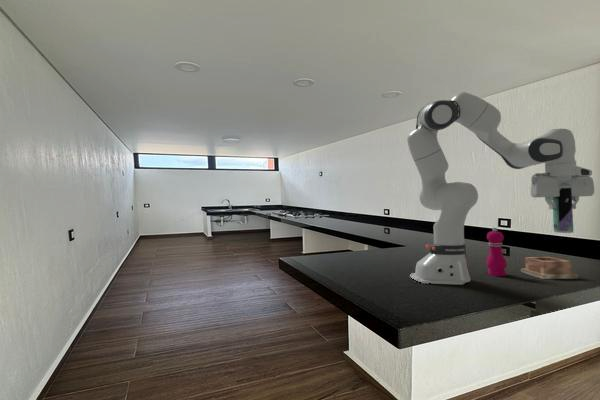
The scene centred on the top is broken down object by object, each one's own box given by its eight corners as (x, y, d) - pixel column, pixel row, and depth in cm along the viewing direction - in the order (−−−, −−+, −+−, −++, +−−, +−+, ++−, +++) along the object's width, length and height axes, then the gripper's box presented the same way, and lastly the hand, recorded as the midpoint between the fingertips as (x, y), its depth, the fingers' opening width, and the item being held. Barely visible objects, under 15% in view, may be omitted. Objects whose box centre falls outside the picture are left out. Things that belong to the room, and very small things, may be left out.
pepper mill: (501, 272, 128) (498, 226, 128) (511, 276, 121) (508, 227, 121) (483, 272, 128) (481, 227, 129) (492, 276, 121) (490, 228, 122)
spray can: (569, 233, 106) (566, 178, 107) (550, 232, 111) (548, 179, 112) (576, 232, 109) (573, 178, 109) (558, 231, 114) (555, 179, 114)
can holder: (543, 278, 115) (542, 262, 115) (520, 271, 128) (520, 256, 128) (578, 278, 114) (577, 261, 114) (552, 271, 127) (551, 256, 127)
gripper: (537, 172, 108) (539, 209, 108) (597, 170, 107) (599, 208, 106) (525, 174, 114) (527, 209, 114) (581, 172, 113) (583, 208, 112)
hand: (562, 209), depth 110 cm, fingers closed on spray can, 5 cm apart
